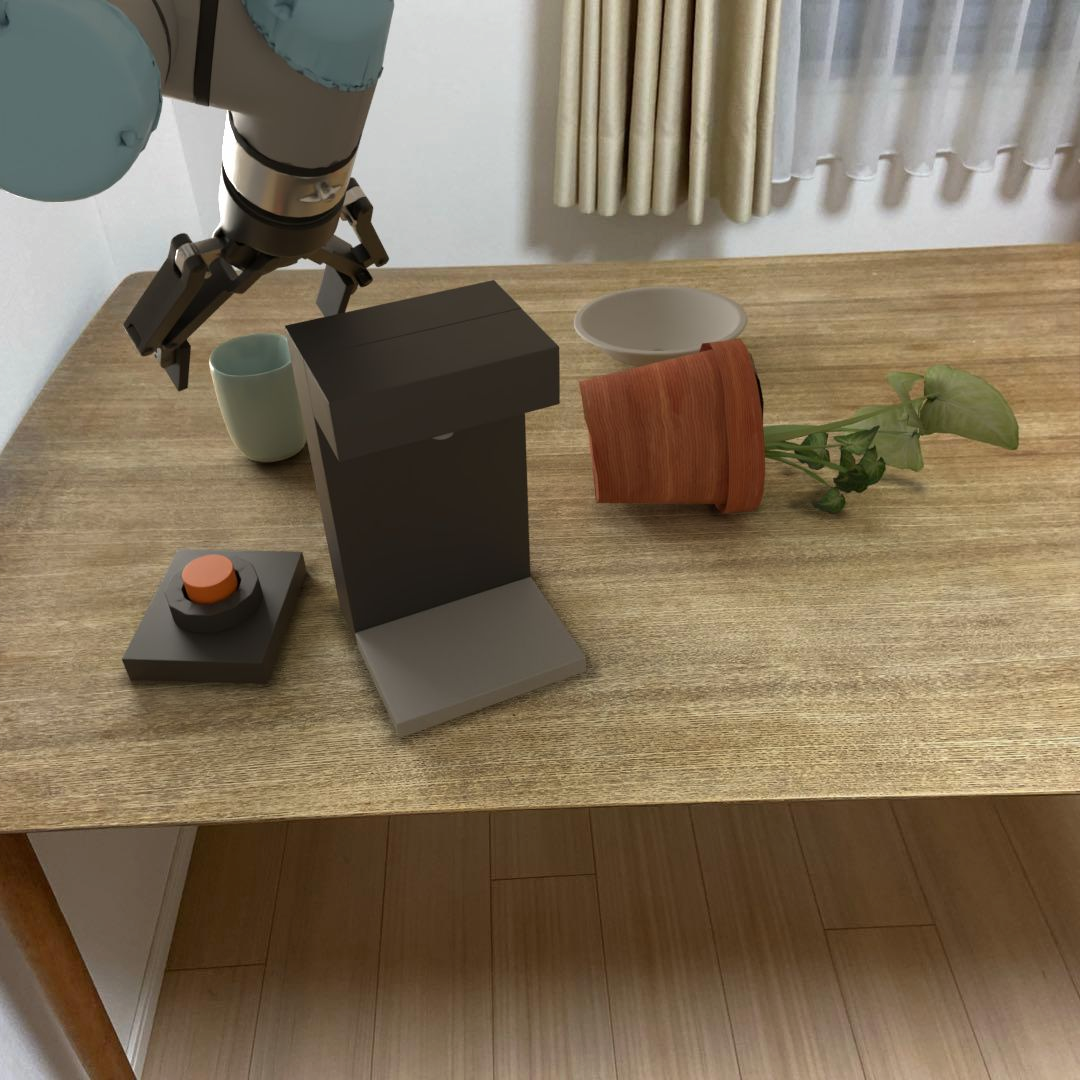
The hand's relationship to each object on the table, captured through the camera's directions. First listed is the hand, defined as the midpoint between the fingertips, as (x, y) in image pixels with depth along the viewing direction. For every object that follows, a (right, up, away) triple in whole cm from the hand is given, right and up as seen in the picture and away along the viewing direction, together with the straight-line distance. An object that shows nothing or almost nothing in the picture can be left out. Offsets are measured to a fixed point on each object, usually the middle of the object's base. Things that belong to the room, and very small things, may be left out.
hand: (254, 344), depth 81 cm
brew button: (-1, -19, -6) cm, 20 cm away
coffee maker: (+17, -23, -6) cm, 29 cm away
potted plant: (+44, -11, +7) cm, 46 cm away
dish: (+35, +3, +25) cm, 43 cm away
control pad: (-1, -22, -4) cm, 22 cm away
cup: (-2, -7, +14) cm, 16 cm away
